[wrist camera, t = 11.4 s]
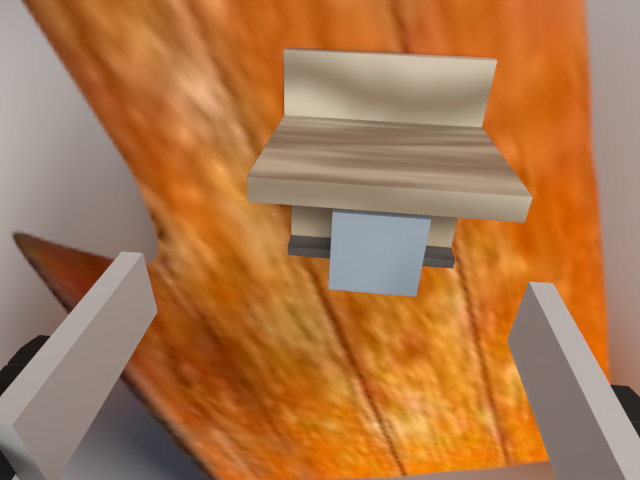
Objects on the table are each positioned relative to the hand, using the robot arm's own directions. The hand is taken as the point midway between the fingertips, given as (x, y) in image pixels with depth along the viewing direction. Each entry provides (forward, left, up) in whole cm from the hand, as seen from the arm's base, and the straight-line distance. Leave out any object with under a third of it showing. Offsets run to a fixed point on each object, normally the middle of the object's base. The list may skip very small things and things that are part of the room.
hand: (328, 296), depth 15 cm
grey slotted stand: (+3, +2, -25) cm, 25 cm away
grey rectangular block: (+6, +2, -21) cm, 22 cm away
